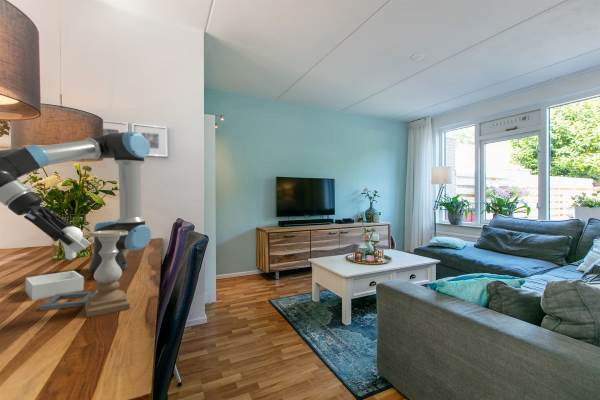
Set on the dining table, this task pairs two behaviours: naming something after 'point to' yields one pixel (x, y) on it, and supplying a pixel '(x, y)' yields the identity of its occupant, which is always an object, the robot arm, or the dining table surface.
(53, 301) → the dark grey square frame
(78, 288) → the bin
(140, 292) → the dining table surface
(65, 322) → the dining table surface
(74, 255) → the lightbulb
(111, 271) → the candle holder
